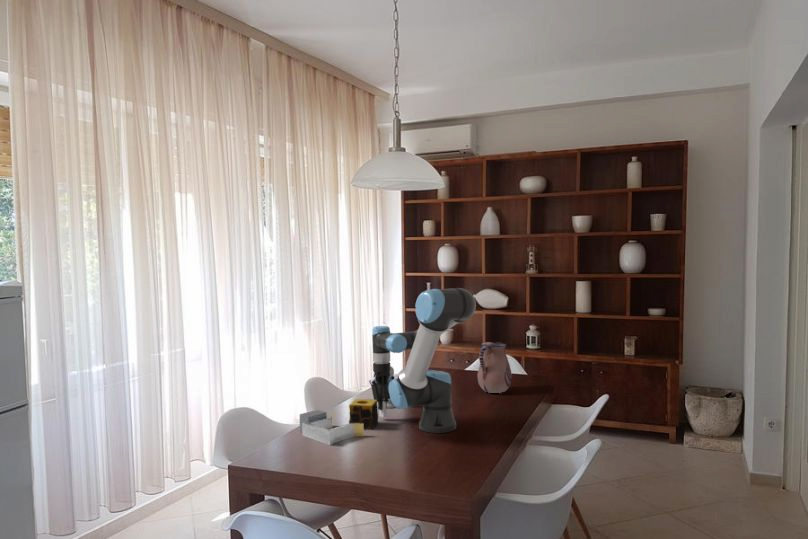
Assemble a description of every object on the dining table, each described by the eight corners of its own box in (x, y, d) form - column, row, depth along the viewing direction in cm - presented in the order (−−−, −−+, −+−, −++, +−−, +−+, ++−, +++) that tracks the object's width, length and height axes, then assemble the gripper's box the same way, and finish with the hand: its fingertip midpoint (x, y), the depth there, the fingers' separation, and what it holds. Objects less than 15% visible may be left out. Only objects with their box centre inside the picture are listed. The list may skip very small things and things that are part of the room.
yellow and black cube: (372, 430, 227) (372, 405, 227) (348, 429, 229) (348, 404, 229) (378, 422, 237) (378, 399, 237) (355, 421, 239) (355, 398, 239)
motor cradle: (365, 435, 220) (364, 418, 219) (332, 446, 208) (332, 427, 208) (327, 423, 237) (326, 407, 236) (295, 432, 225) (294, 415, 225)
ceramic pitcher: (517, 390, 289) (516, 342, 289) (501, 399, 272) (500, 348, 271) (486, 386, 299) (485, 340, 298) (468, 395, 281) (468, 345, 281)
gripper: (386, 359, 247) (387, 411, 248) (364, 363, 238) (365, 418, 239) (398, 361, 242) (399, 415, 243) (376, 365, 233) (377, 421, 233)
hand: (382, 416), depth 241 cm, fingers closed
